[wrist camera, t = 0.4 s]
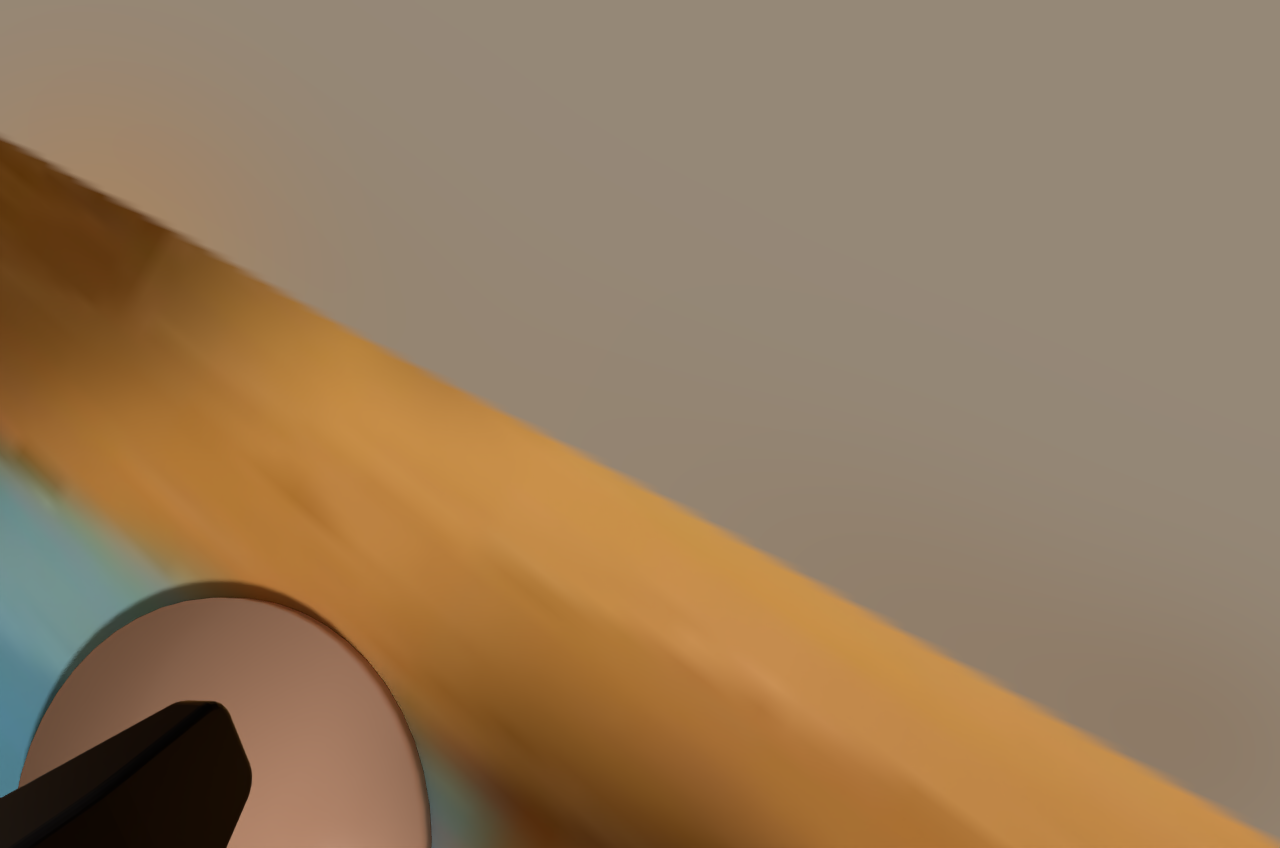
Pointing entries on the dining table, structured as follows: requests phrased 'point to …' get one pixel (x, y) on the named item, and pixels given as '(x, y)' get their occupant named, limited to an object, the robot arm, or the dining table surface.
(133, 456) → the dining table surface
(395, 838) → the coaster
